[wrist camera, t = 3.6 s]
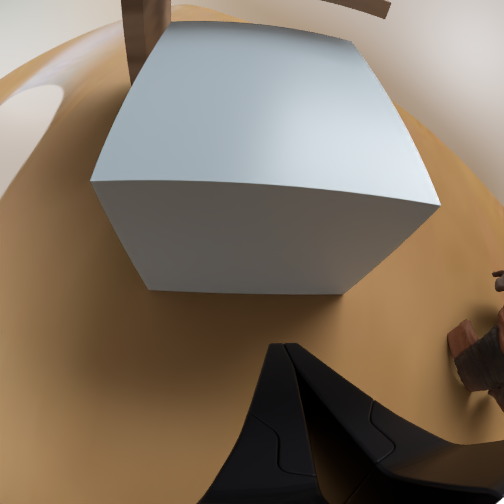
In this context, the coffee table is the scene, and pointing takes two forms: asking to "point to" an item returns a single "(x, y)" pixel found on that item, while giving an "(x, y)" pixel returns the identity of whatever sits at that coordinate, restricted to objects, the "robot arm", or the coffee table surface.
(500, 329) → the pottery mug
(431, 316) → the coffee table surface
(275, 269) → the grey hollow box
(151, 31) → the overhang
